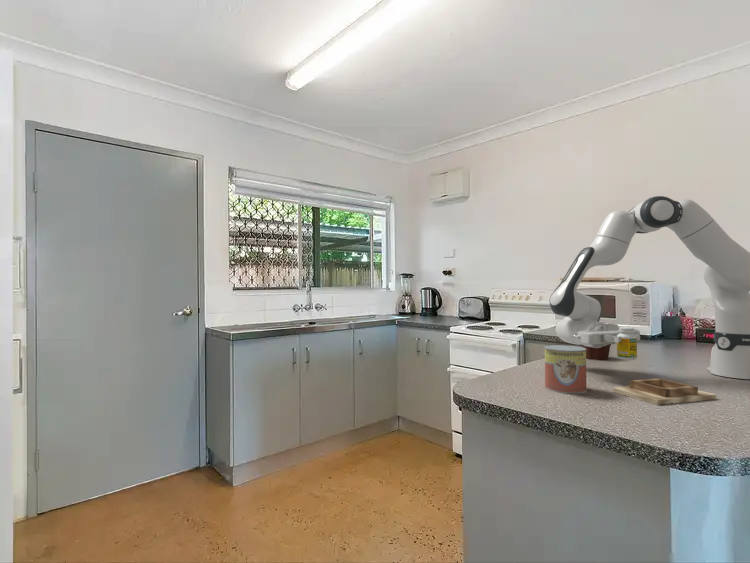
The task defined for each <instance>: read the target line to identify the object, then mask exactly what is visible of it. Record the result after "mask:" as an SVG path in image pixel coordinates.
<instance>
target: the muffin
mask: <svg viewBox="0 0 750 563" xmlns="http://www.w3.org/2000/svg"><path fill="white" fill-rule="evenodd" d="M611 345H612V344H609V345H606V346H603V347H601V348H593V347H588V346H584V345H582V344H581V347H583V348H586V360H592V361H593V360H594V361H606V360H608V361H609V356H610V352H611V350H610V349H611Z"/></svg>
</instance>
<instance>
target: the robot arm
mask: <svg viewBox="0 0 750 563" xmlns="http://www.w3.org/2000/svg"><path fill="white" fill-rule="evenodd" d="M662 228H668V229H670V230H671V231H673V232H674V233H675V235H676V236H677V238H678V239H679V240H680V241H681V242H682V243H683V245H685V247H686V248H687V249H688V250H689V251H690V253H692V255H693V256H694V257H695V258H696V259H697V260H700V261H701V262H703V263H705V264H706V265H707V267H706V268H705V269H704V272H703V279H704V282H705V284H707V286H708V288H709V292H710V295H711V299H712V302H713V306H714V317H715V318H714V321H715V322H714V323H715V324H714V326H715V328H714V330H715V331H714V332H713V342H714V345H713V346H712V348H711V351H710V352H711V354H710V355H711V356H710V362H709V363H710V364H709V366H707V371H708V372H709V373H710V374H712V375H715V376H718V377H719V376H721V377H725V378H726V377H727V378H733V379H741V380H742V379H743V380H750V251H748V250H747V249H745V248H744V247H743V246H741V245H740V244H739V243H738V242H736V240H733V238H731V237H730V236H729V235H728V234H727V233H726V231H725V230H724V229H723V228H722V227H721V226H720V224H718V223H717V221H716V220H715V219H714V218H713V217H712V215H711V214H709V213H708V212H707V211H706V210H705V209H704V208H703V207H702V206H700V204H698V203H697V202H695V201H694V200H692V199H682V200H678V201H676V200H674V199H672V198H669V197H667V196H663V195H662V196H661V195H657V196H652V197H649V198H648V199H645V200H642V201H640V202H639V203H638V204H637V205H635V206H634V207H632V208H631V209H630V210H629V211H626V210H620V209H619V210H614V211H613V210H612V211H610V212H609V213H608V214H607V215H606V217H605V219H604V220H603V222H602V223H601V225H600V227H599V229H598V231H597V233H596V235H595V238H594V240H592V242H591V244H590V245H588V247H587V246H586V247H584V248H582V250H580V252H579V253H578V254H577V255H576V257H575V258H574V260H573V262H572V264H571V265H570V266H569V268H568V269H567V271H566V273H565V275H564V277H563V278H562V280H561V281H560V283H559V284H558V286H557V287H555V289H554V291H553V292H552V293H551V295H550V297H549V299H548V301H549V306H550V309H551V311H552V312H553V313H554V314H555V315H558V316H562V317H564V318H562V319H561V320H559V321H557V323H556V325H555V333H556V335H557V337H558V338H559V339H560V340H561V341H563V342H565V343H568V344H572V345H575V346H582V345H584V346H588V347H593V348H601V347H603V346H606V345H609V344H611V345H616V344H617V343H620V342H622V337H619V336H617V335H618V334H620V332H619V327H620V326H619V325H618V323H616V324H615V323H606V322H601V317H602V311H603V309H602V305H601V303H600V301H599V300H598V299H596V298H594V297H591V296H588V295H586V294H584V293H580V292H578V291H577V290H578V289H577V288H578V287H579V285H580V284H581V282H582V280H583V279H584V277H585V275H586V274H587V272H588V271H589V270H590V269H592V268H593V267H597V266H599V267H600V266H613V265H615V264H617V263H619V262H621V261H622V260H623V258H624V257H625V256H626V254H627V251H628V249H629V246H630V244H631V242H632V240H633V238H634V236H635V235H636V234H649V233H652V232H656V231H658V230H660V229H662ZM633 334H634V335H636V337H637V342H640V341H641V332H640V330H638V329H635V328H634V333H633Z"/></svg>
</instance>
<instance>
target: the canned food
mask: <svg viewBox="0 0 750 563" xmlns="http://www.w3.org/2000/svg"><path fill="white" fill-rule="evenodd" d="M543 348H544V389H545V390H548V391H551V392H555V393H560V394H561V393H563V394H573V393H575V394H584V393H586V392H587V391H588V389H587V359H586V348H583V347H582V346H579V345H568V344H567V345H566V344H565V345H564V344H563V345H562V344H551V345H545V346H544V347H543Z"/></svg>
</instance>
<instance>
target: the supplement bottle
mask: <svg viewBox="0 0 750 563" xmlns="http://www.w3.org/2000/svg"><path fill="white" fill-rule="evenodd" d="M634 329H635V328H634V327H629V326H627V327H626V326H619V332H620V334H618V335H617V336H619V337H622V342H620V343H616V357H617V359H619V360H623V361H624V360H626V361H633V360H637V358H638V344H637V343H638V341H637V337H636V335H634V334H633V333H634Z"/></svg>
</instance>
